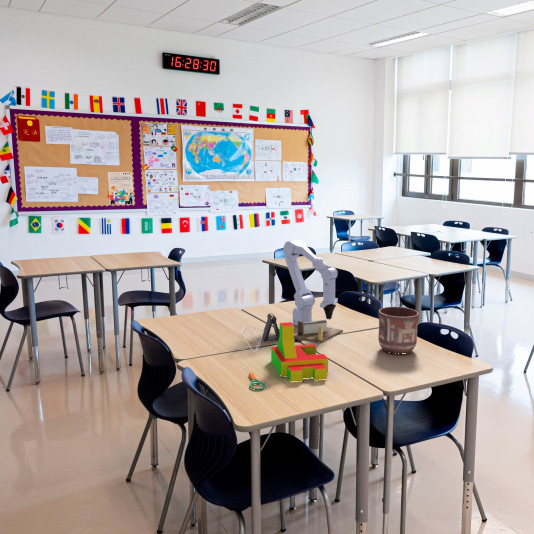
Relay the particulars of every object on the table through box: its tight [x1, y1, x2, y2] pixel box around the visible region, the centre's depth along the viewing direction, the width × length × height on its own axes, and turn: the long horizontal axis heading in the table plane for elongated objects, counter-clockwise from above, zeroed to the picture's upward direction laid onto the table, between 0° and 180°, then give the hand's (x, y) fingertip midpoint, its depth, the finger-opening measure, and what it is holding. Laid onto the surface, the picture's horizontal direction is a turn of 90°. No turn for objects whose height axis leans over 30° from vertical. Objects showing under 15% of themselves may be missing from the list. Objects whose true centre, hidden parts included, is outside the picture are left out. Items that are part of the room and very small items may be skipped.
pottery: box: [377, 306, 420, 354], centre depth 251 cm, size 18×18×18 cm
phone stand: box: [260, 312, 280, 343], centre depth 268 cm, size 9×6×12 cm, turn 103°
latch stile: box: [318, 326, 323, 341], centre depth 264 cm, size 2×1×6 cm
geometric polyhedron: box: [236, 325, 264, 354], centre depth 254 cm, size 12×11×9 cm
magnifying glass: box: [248, 372, 267, 391], centre depth 215 cm, size 15×6×2 cm, turn 14°
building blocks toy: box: [270, 321, 329, 383], centre depth 227 cm, size 19×25×18 cm
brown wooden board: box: [294, 321, 344, 344], centre depth 275 cm, size 15×22×8 cm
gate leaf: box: [303, 319, 328, 334], centre depth 274 cm, size 12×2×5 cm, turn 110°
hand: (328, 318), depth 282 cm, fingers closed
